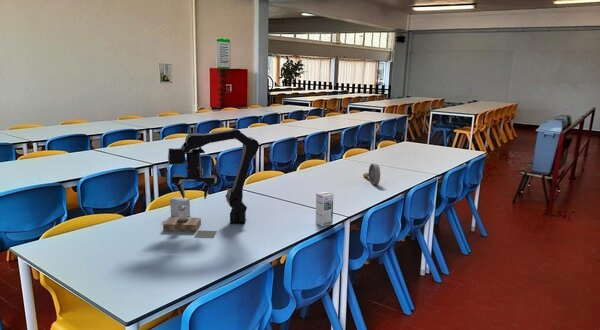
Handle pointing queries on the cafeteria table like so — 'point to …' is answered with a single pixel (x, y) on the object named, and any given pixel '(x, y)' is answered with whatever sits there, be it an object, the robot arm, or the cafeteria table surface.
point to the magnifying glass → (373, 174)
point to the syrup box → (324, 208)
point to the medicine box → (177, 202)
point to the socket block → (181, 225)
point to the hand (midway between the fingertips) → (194, 198)
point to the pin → (182, 213)
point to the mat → (205, 234)
